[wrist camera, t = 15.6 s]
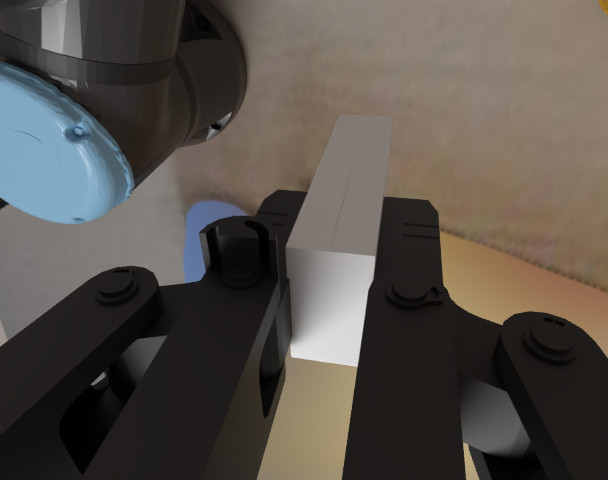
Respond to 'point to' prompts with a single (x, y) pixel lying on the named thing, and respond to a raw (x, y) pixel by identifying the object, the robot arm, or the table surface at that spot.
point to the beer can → (604, 5)
